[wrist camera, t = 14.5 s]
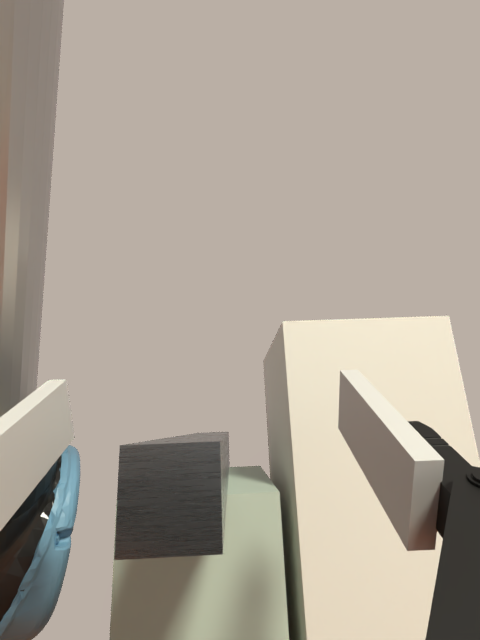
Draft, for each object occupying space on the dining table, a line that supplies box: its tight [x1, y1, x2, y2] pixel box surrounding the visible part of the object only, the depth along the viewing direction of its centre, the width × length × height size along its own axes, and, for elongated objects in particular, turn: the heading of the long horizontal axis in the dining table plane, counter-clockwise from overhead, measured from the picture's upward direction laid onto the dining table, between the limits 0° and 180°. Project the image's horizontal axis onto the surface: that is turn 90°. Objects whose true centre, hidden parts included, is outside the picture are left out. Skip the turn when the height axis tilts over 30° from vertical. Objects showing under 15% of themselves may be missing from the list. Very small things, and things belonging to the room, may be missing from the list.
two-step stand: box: [110, 316, 480, 640], centre depth 29 cm, size 16×23×30 cm
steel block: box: [114, 432, 229, 560], centre depth 27 cm, size 30×4×4 cm, turn 1°
